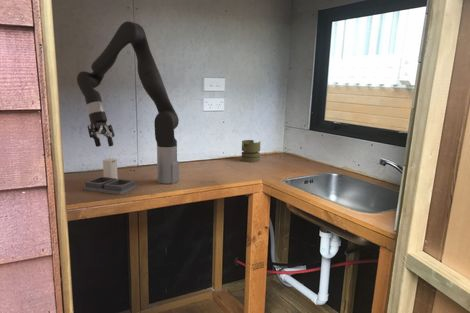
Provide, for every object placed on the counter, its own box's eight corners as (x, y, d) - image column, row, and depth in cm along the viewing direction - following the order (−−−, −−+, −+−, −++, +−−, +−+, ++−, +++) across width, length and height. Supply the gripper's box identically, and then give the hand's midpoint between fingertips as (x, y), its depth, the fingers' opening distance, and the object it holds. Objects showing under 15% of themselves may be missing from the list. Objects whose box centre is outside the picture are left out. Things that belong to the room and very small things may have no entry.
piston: (251, 139, 232) (264, 141, 224) (250, 158, 234) (263, 161, 226) (238, 141, 224) (251, 143, 216) (237, 160, 227) (250, 163, 219)
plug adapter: (117, 179, 177) (116, 158, 175) (111, 181, 172) (110, 160, 170) (110, 178, 178) (109, 158, 176) (103, 180, 174) (102, 160, 172)
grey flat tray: (136, 187, 164) (136, 180, 163) (120, 194, 153) (120, 187, 152) (101, 182, 170) (100, 176, 169) (83, 189, 159) (82, 182, 158)
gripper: (91, 109, 165) (100, 144, 164) (113, 111, 178) (121, 143, 177) (79, 114, 168) (88, 148, 167) (101, 116, 181) (109, 148, 180)
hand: (105, 146), depth 172 cm, fingers open, 8 cm apart
